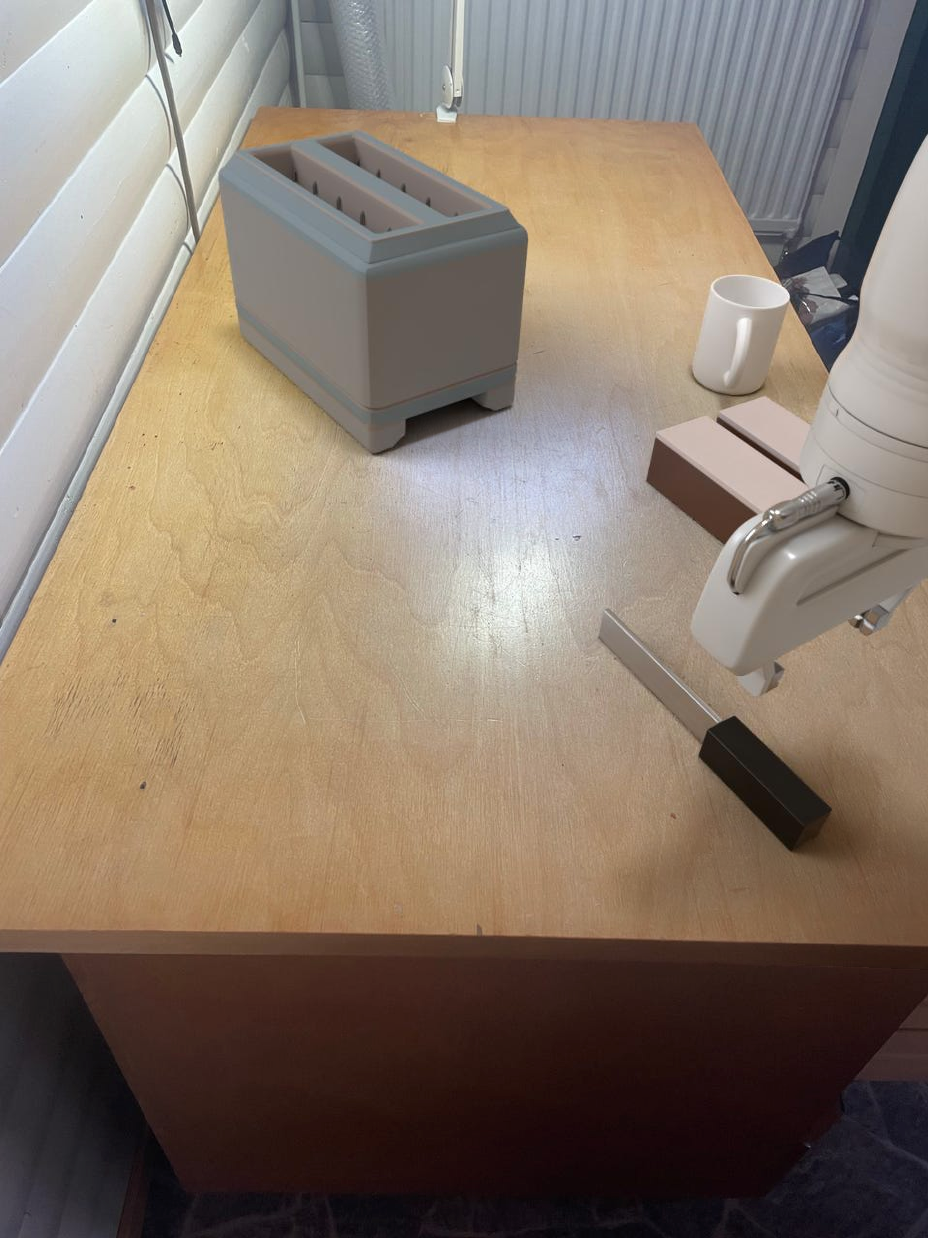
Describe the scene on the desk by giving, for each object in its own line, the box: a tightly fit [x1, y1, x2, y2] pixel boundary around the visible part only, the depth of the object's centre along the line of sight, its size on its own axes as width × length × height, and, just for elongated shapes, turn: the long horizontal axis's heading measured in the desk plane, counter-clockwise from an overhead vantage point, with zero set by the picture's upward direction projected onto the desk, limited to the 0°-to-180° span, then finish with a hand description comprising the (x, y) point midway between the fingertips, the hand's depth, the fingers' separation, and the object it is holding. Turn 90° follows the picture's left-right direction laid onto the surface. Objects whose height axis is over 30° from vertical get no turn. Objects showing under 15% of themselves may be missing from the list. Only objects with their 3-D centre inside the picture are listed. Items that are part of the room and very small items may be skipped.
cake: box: [645, 395, 811, 545], centre depth 85 cm, size 14×14×6 cm
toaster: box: [217, 129, 529, 454], centre depth 96 cm, size 19×33×20 cm, turn 36°
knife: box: [598, 607, 833, 853], centre depth 65 cm, size 22×3×3 cm, turn 31°
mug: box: [692, 274, 791, 396], centre depth 99 cm, size 12×8×10 cm
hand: (811, 654), depth 53 cm, fingers open, 8 cm apart
